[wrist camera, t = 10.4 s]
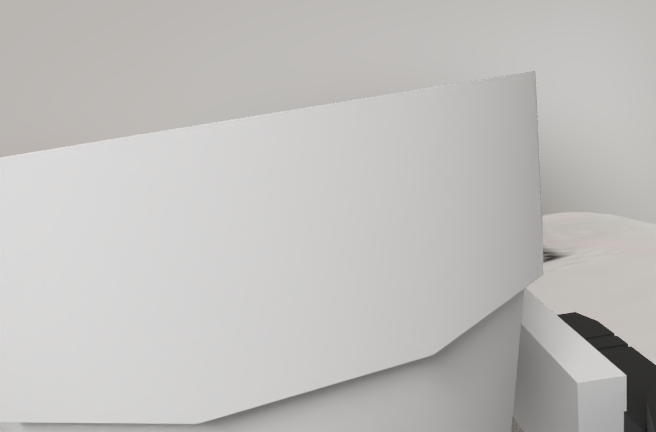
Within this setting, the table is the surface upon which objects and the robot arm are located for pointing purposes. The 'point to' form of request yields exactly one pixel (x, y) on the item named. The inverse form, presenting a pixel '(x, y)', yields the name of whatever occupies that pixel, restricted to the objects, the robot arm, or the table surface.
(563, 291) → the table surface
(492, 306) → the foam cup
